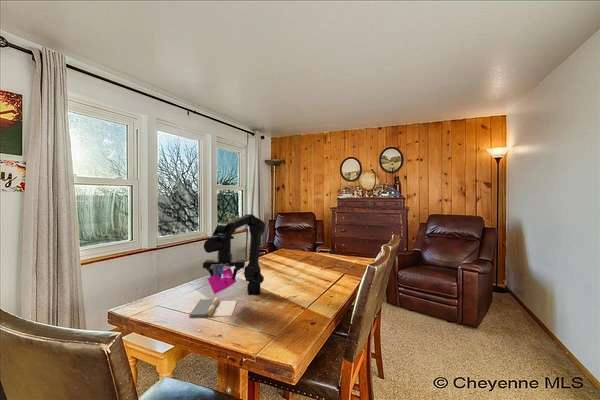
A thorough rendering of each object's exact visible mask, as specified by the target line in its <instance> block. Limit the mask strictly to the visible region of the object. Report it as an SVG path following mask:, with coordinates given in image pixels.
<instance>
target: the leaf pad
mask: <svg viewBox="0 0 600 400" xmlns="http://www.w3.org/2000/svg"><path fill="white" fill-rule="evenodd" d="M237 303H238V300H219V302H218V304H217V306H216V307H215V309H214V311H213V313H212V315H211V317H212V318H213V317H232V316H233V314H234V310H235V308H236V305H237Z"/></svg>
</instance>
